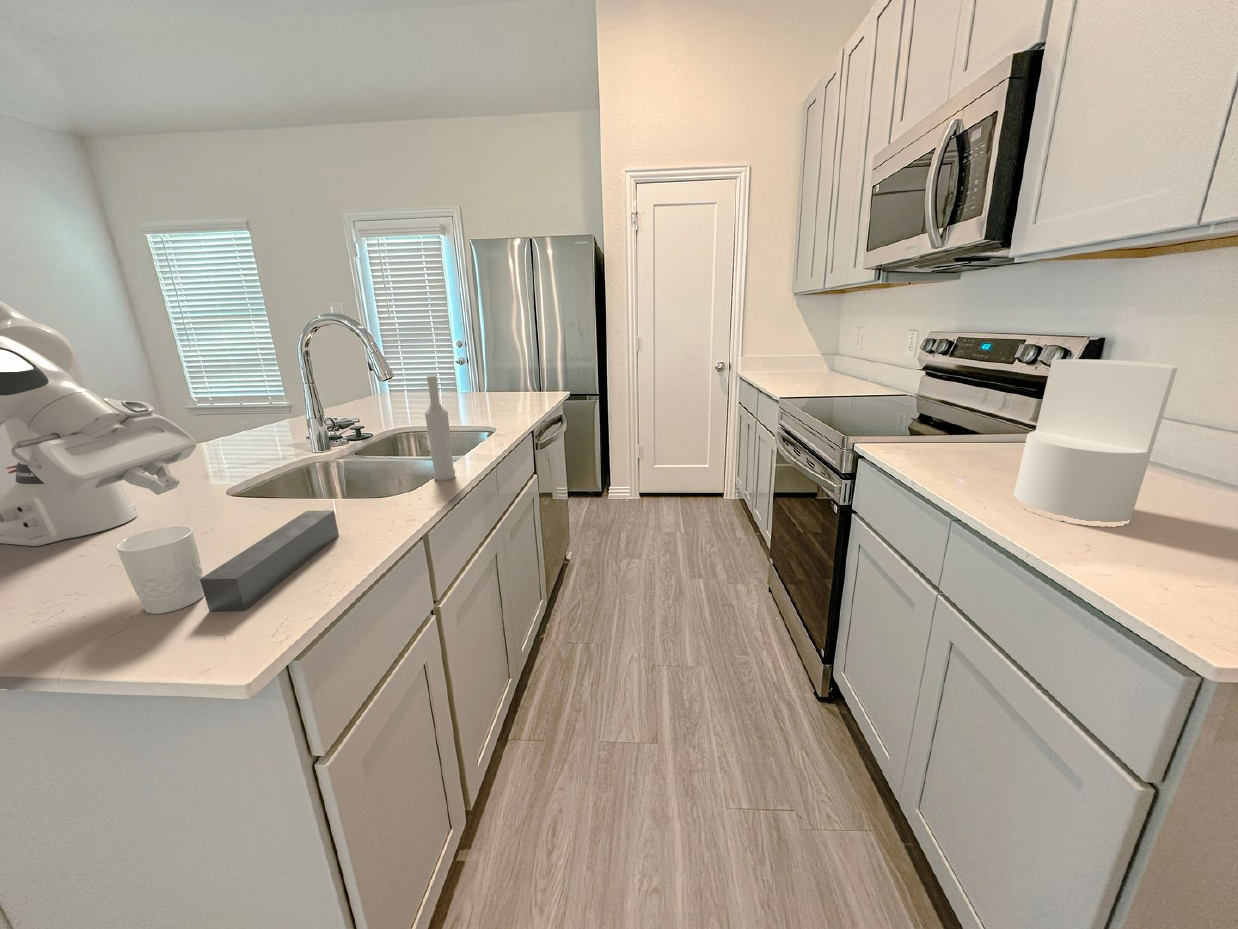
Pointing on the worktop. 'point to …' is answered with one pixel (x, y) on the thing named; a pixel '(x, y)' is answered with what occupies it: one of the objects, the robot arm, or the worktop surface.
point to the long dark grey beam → (268, 562)
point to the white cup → (163, 568)
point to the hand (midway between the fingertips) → (170, 488)
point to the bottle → (439, 435)
